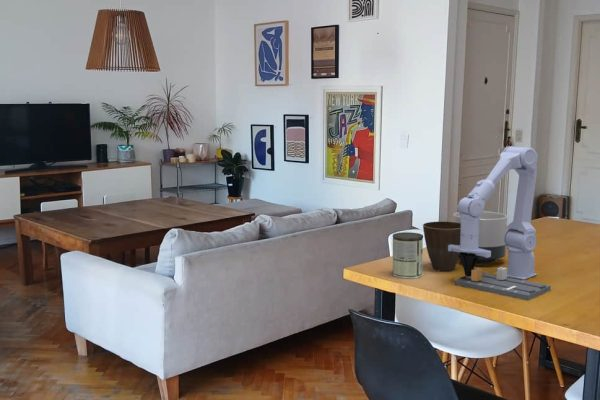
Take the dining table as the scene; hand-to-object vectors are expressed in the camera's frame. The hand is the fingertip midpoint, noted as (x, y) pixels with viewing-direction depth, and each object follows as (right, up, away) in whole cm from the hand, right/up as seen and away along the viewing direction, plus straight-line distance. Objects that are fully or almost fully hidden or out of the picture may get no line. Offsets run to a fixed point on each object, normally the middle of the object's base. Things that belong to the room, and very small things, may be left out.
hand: (468, 275), depth 205 cm
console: (+9, -3, -4) cm, 11 cm away
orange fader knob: (+2, -1, -2) cm, 3 cm away
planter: (+12, +1, +31) cm, 34 cm away
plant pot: (-4, 0, +20) cm, 21 cm away
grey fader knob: (+11, -1, -1) cm, 11 cm away
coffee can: (-18, -1, +12) cm, 22 cm away
